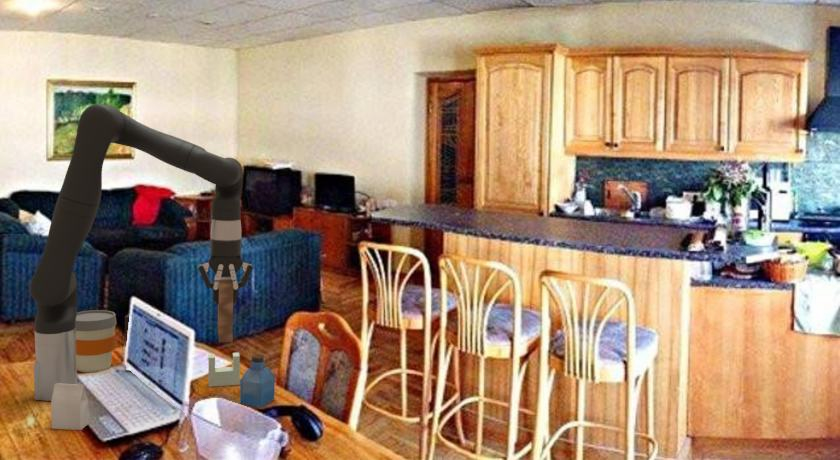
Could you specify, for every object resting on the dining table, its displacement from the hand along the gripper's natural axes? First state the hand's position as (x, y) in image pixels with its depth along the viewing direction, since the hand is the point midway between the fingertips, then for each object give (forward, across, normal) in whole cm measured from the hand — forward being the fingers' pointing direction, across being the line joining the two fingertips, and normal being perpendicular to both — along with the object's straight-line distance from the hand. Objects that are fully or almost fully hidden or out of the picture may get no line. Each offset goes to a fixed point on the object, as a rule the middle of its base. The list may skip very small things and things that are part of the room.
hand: (225, 302), depth 185 cm
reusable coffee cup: (+25, -35, +29) cm, 52 cm away
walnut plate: (+9, 0, 0) cm, 9 cm away
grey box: (+25, -35, -13) cm, 45 cm away
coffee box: (+25, -21, +24) cm, 40 cm away
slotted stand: (+24, 0, +8) cm, 26 cm away
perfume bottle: (+25, +8, -6) cm, 27 cm away
